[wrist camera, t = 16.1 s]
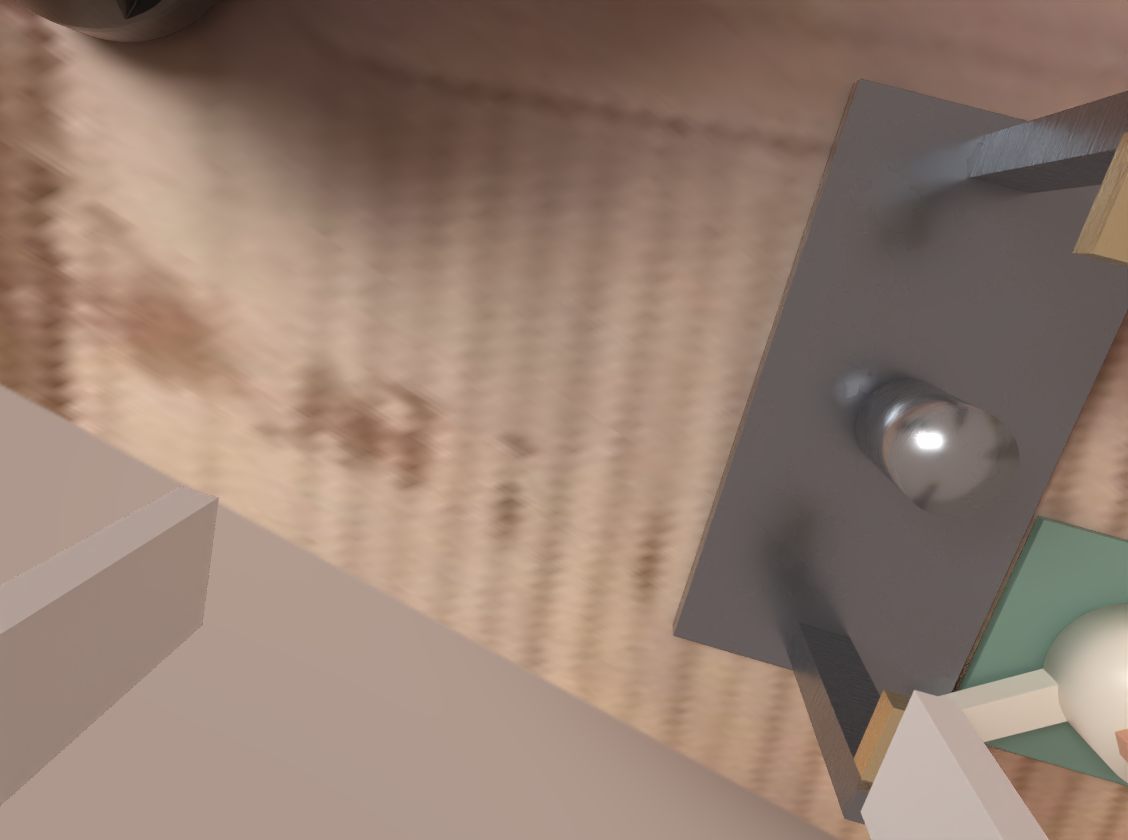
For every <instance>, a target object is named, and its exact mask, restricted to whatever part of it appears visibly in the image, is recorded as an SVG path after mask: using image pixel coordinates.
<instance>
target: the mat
mask: <svg viewBox="0 0 1128 840" xmlns="http://www.w3.org/2000/svg"><path fill="white" fill-rule="evenodd" d="M1120 603H1128V540H1124V539H1120V538H1117V537H1113V536H1110V535H1106V534H1102V533H1099V532H1095V531H1092V530H1088V529H1084V528H1081V527H1077V526H1073V525H1070V524H1066V523H1063V522H1059V521H1055V520H1052V519H1048V518H1045V517H1041V516H1038V517H1037V519H1036V522H1035V524H1034V526H1033V528H1032V530H1031V532H1030V535H1029V537H1028V539H1027V541H1026V543H1025V545H1024V547H1023V550H1022V552H1021V554H1020V556H1019V558H1018V560H1017V563H1016V565H1015V567H1014V569H1013V571H1012V573H1011V576H1010V578H1009V580H1008V582H1007V584H1006V586H1005V589H1004V591H1003V593H1002V595H1001V597H1000V599H999V601H998V604H997V606H996V608H995V610H994V612H993V614H992V617H991V619H990V621H989V623H988V625H987V627H986V630H985V632H984V634H983V636H982V638H981V640H980V643H979V645H978V647H977V649H976V651H975V653H974V656H973V658H972V660H971V662H970V664H969V666H968V668H967V671H966V673H965V675H964V677H963V679H962V681H961V684H960V686H959V688H958V690H957V691H960V690H964V689H967V688H971V687H975V686H979V685H983V684H986V683H990V682H994V681H998V680H1001V679H1005V678H1009V677H1013V676H1017V675H1020V674H1024V673H1028V672H1032V671H1035V670H1039V669H1043V665H1044V660H1045V657H1046V654H1047V652H1048V650H1049V648H1050V646H1051V644H1052V643H1053V641H1054V640H1055V638H1056V637H1057V636H1058V635H1059V633H1060V632H1061V631H1062V630H1063V629H1064V628H1065V627H1066V626H1068V625H1069V624H1070V623H1071V622H1073V621H1074V620H1075V619H1077V618H1079V617H1080V616H1082V615H1084V614H1086V613H1088V612H1090V611H1092V610H1095V609H1098V608H1101V607H1104V606H1108V605H1113V604H1120ZM984 743H985V745H988V746H992V747H995V748H998V749H1002V750H1005V751H1009V752H1012V753H1016V754H1019V755H1023V756H1026V757H1029V758H1033V759H1036V760H1040V761H1043V762H1047V763H1050V764H1054V765H1057V766H1060V767H1064V768H1067V769H1071V770H1074V771H1078V772H1081V773H1084V774H1088V775H1091V776H1095V777H1098V778H1102V779H1105V780H1109V781H1112V782H1115V783H1119V784H1122V785H1126V786H1128V783H1127V782H1125V781H1124V780H1123V779H1121V778H1120V777H1119V776H1118V775H1117V774H1116V773H1115V772H1114V771H1113V770H1112V769H1111V768H1110V767H1109V766H1108V765H1107V764H1106V763H1105V762H1104V761H1103V760H1102V759H1101V757H1100V756H1099V755H1098V754H1097V753H1096V752H1095V751H1094V750H1093V749H1092V748H1091V747H1090V746H1089V744H1088V743H1087V742H1086V741H1085V740H1084V739H1083V738H1082V737H1081V736H1080V735H1079V734H1078V733H1077V731H1076V730H1075V729H1074V728H1073V727H1072V726H1071V725H1070V724H1069V723H1068V722H1067V721H1066V722H1062V723H1058V724H1054V725H1050V726H1046V727H1042V728H1038V729H1034V730H1030V731H1026V732H1022V733H1018V734H1015V735H1011V736H1007V737H1003V738H999V739H995V740H991V741H987V742H984Z"/></svg>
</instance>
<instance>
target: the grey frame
mask: <svg viewBox="0 0 1128 840" xmlns="http://www.w3.org/2000/svg"><path fill="white" fill-rule="evenodd" d="M1127 310H1128V91H1126V92H1122V93H1119V94H1116V95H1113V96H1109V97H1106V98H1103V99H1100V100H1097V101H1093V102H1090V103H1087V104H1084V105H1080V106H1077V107H1074V108H1071V109H1068V110H1064V111H1061V112H1058V113H1055V114H1051V115H1048V116H1045V117H1042V118H1039V119H1035V120H1032V121H1025V120H1021V119H1017V118H1013V117H1009V116H1005V115H1001V114H997V113H993V112H990V111H986V110H982V109H978V108H974V107H970V106H966V105H962V104H958V103H954V102H950V101H946V100H942V99H939V98H935V97H931V96H927V95H923V94H919V93H915V92H911V91H907V90H903V89H899V88H895V87H891V86H887V85H884V84H880V83H876V82H872V81H868V80H864V79H859V80H858V81H857V82H855V83H854V84H853V87H852V90H851V93H850V96H849V99H848V102H847V105H846V108H845V111H844V114H843V117H842V120H841V123H840V126H839V129H838V132H837V135H836V138H835V141H834V144H833V147H832V150H831V153H830V156H829V159H828V162H827V165H826V168H825V171H824V174H823V177H822V180H821V183H820V186H819V189H818V192H817V195H816V198H815V201H814V204H813V207H812V210H811V213H810V216H809V219H808V222H807V225H806V228H805V231H804V234H803V237H802V240H801V243H800V246H799V249H798V252H797V255H796V258H795V261H794V264H793V267H792V270H791V273H790V276H789V279H788V282H787V285H786V288H785V291H784V294H783V297H782V300H781V303H780V306H779V309H778V312H777V315H776V318H775V321H774V324H773V327H772V329H771V332H770V335H769V338H768V341H767V344H766V347H765V350H764V353H763V356H762V359H761V362H760V365H759V368H758V371H757V374H756V377H755V380H754V383H753V386H752V389H751V392H750V395H749V398H748V401H747V404H746V407H745V410H744V413H743V416H742V419H741V422H740V425H739V428H738V431H737V434H736V437H735V440H734V443H733V446H732V449H731V452H730V455H729V458H728V461H727V464H726V467H725V470H724V473H723V476H722V479H721V482H720V485H719V488H718V491H717V494H716V497H715V500H714V503H713V506H712V509H711V512H710V515H709V518H708V521H707V524H706V527H705V530H704V533H703V536H702V539H701V542H700V545H699V548H698V551H697V554H696V557H695V560H694V563H693V566H692V569H691V572H690V575H689V578H688V581H687V584H686V587H685V590H684V593H683V596H682V599H681V602H680V605H679V608H678V611H677V614H676V617H675V620H674V623H673V636H676V637H680V638H683V639H687V640H690V641H694V642H697V643H701V644H704V645H708V646H711V647H714V648H718V649H721V650H725V651H728V652H732V653H735V654H739V655H742V656H746V657H749V658H752V659H756V660H759V661H763V662H766V663H770V664H773V665H777V666H780V667H784V668H787V669H790V670H793V671H794V674H795V677H796V680H797V682H798V685H799V688H800V691H801V694H802V697H803V700H804V703H805V706H806V708H807V711H808V714H809V717H810V720H811V723H812V726H813V729H814V732H815V735H816V737H817V740H818V743H819V746H820V749H821V752H822V755H823V758H824V761H825V763H826V766H827V769H828V772H829V775H830V778H831V781H832V784H833V787H834V790H835V792H836V795H837V798H838V801H839V804H840V807H841V810H842V813H843V816H844V818H845V819H848V820H851V821H855V822H858V823H861V824H865V822H864V820H863V817H862V814H861V810H862V807H863V805H864V803H865V800H866V798H867V796H868V794H869V791H870V789H871V787H872V785H873V782H874V780H875V778H876V775H877V773H878V771H879V769H880V766H881V764H882V762H883V760H884V757H885V755H886V753H887V750H888V748H889V746H890V744H891V741H892V739H893V737H894V735H895V732H896V730H897V728H898V725H899V723H900V721H901V719H902V716H903V714H904V712H905V710H906V707H907V705H908V703H909V700H910V698H911V696H912V694H913V691H914V690H917V691H920V692H924V693H927V694H931V695H935V696H941V695H945V694H949V693H951V692H952V690H953V688H954V686H955V683H956V681H957V679H958V677H959V675H960V673H961V670H962V668H963V666H964V664H965V662H966V660H967V657H968V655H969V653H970V651H971V649H972V647H973V644H974V642H975V640H976V638H977V636H978V634H979V631H980V629H981V627H982V625H983V623H984V620H985V618H986V616H987V614H988V612H989V610H990V607H991V605H992V603H993V601H994V599H995V597H996V594H997V592H998V590H999V588H1000V586H1001V584H1002V581H1003V579H1004V577H1005V575H1006V573H1007V571H1008V568H1009V566H1010V564H1011V562H1012V560H1013V558H1014V555H1015V553H1016V551H1017V549H1018V547H1019V545H1020V542H1021V540H1022V538H1023V536H1024V534H1025V532H1026V529H1027V527H1028V525H1029V523H1030V521H1031V518H1032V516H1033V514H1034V512H1035V510H1036V508H1037V505H1038V503H1039V501H1040V499H1041V497H1042V495H1043V492H1044V490H1045V488H1046V486H1047V484H1048V482H1049V479H1050V477H1051V475H1052V473H1053V471H1054V469H1055V466H1056V464H1057V462H1058V460H1059V458H1060V456H1061V453H1062V451H1063V449H1064V447H1065V445H1066V443H1067V440H1068V438H1069V436H1070V434H1071V432H1072V429H1073V427H1074V425H1075V423H1076V421H1077V419H1078V416H1079V414H1080V412H1081V410H1082V408H1083V406H1084V403H1085V401H1086V399H1087V397H1088V395H1089V393H1090V390H1091V388H1092V386H1093V384H1094V382H1095V380H1096V377H1097V375H1098V373H1099V371H1100V369H1101V367H1102V364H1103V362H1104V360H1105V358H1106V356H1107V354H1108V351H1109V349H1110V347H1111V345H1112V343H1113V340H1114V338H1115V336H1116V334H1117V332H1118V330H1119V327H1120V325H1121V323H1122V321H1123V319H1124V317H1125V314H1126V312H1127ZM880 696H881V697H880Z"/></svg>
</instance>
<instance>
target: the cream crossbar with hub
mask: <svg viewBox="0 0 1128 840" xmlns="http://www.w3.org/2000/svg"><path fill="white" fill-rule="evenodd" d="M938 697H942V698H945V699H949V700H953V701H956V702H957V703H958V705H959V706H960V708H961V709H962V711H963V712H964V714H965V715H966V717H967V718H968V720H969V721H970V723H971V724H972V726H973V727H974V729H975V730H976V732H977V733H978V735H979V736H980V738H981V739H982V741H983V742H987V741H991V740H995V739H999V738H1003V737H1007V736H1011V735H1015V734H1018V733H1022V732H1026V731H1030V730H1034V729H1038V728H1042V727H1046V726H1050V725H1054V724H1058V723H1062V722H1066V721H1067V722H1068V723H1069V724H1070V725H1071V726H1072V727H1073V728H1074V729H1075V730H1076V731H1077V733H1078V734H1079V735H1080V736H1081V737H1082V738H1083V739H1084V740H1085V741H1086V742H1087V743H1088V744H1089V746H1090V747H1091V748H1092V749H1093V750H1094V751H1095V752H1096V753H1097V754H1098V755H1099V756H1100V757H1101V759H1102V760H1103V761H1104V762H1105V763H1106V764H1107V765H1108V766H1109V767H1110V768H1111V769H1112V770H1113V771H1114V772H1115V773H1116V774H1117V775H1118V776H1119V777H1120V778H1121V779H1123V780H1124V781H1125V782H1127V783H1128V603H1120V604H1113V605H1108V606H1104V607H1101V608H1098V609H1095V610H1092V611H1090V612H1088V613H1086V614H1084V615H1082V616H1080V617H1079V618H1077V619H1075V620H1074V621H1073V622H1071V623H1070V624H1069V625H1068V626H1066V627H1065V628H1064V629H1063V630H1062V631H1061V632H1060V633H1059V635H1058V636H1057V637H1056V638H1055V640H1054V641H1053V643H1052V644H1051V646H1050V648H1049V650H1048V652H1047V654H1046V657H1045V660H1044V665H1043V669H1039V670H1035V671H1032V672H1028V673H1024V674H1020V675H1017V676H1013V677H1009V678H1005V679H1001V680H998V681H994V682H990V683H986V684H983V685H979V686H975V687H971V688H967V689H964V690H960V691H956V692H952V693H949V694H945V695H941V696H938Z"/></svg>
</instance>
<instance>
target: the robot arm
mask: <svg viewBox="0 0 1128 840" xmlns="http://www.w3.org/2000/svg"><path fill="white" fill-rule="evenodd" d="M16 1H17V2H19V3H20V4H22V5H23V6H25V7H26V8H28V9H30V10H31V11H33V12H35V13H36V14H38V15H40V16H42V17H44V18H46V19H48V20H50V21H52V22H55V23H57V24H60V25H63V26H65V27H68V28H71V29H73V30H76V31H79V32H81V33H84V34H87V35H90V36H93V37H96V38H100V39H105V40H110V41H118V42H140V41H148V40H153V39H157V38H161V37H164V36H167V35H170V34H172V33H174V32H177V31H179V30H181V29H183V28H184V27H186V26H188V25H190V24H191V23H193V22H194V21H196V20H197V19H198V18H200V17H201V16H202V15H203V14H205V13H206V12H207V11H208V10H209V9H210V8H211V7H212V6H213V5H214V4H215V3H216V2H217V1H218V0H16ZM218 498H219V497H216V496H212V495H208V494H205V493H201V492H197V491H194V490H190V489H187V488H183V487H178V488H176V489H174V490H172V491H171V492H169V493H167V494H165V495H163V496H161V497H160V498H158V499H156V500H154V501H152V502H150V503H149V504H147V505H145V506H143V507H141V508H140V509H138V510H136V511H134V512H132V513H131V514H129V515H127V516H125V517H124V518H121V519H120V520H118V521H116V522H114V523H112V524H111V525H109V526H107V527H105V528H103V529H101V530H100V531H98V532H96V533H94V534H92V535H91V536H89V537H87V538H85V539H84V540H82V541H80V542H78V543H76V544H74V545H72V546H71V547H69V548H67V549H65V550H63V551H62V552H60V553H58V554H56V555H54V556H53V557H51V558H49V559H47V560H46V561H43V562H42V563H40V564H38V565H36V566H34V567H32V568H31V569H29V570H27V571H25V572H23V573H22V574H20V575H18V576H16V577H14V578H12V579H11V580H9V581H7V582H5V583H3V584H2V585H0V806H1V805H2V804H3V803H4V802H5V801H6V800H8V799H9V798H10V797H11V796H12V795H13V794H14V793H15V792H16V791H18V790H19V789H20V788H21V787H22V786H23V785H24V784H25V783H27V782H28V781H29V780H30V779H31V778H32V777H33V776H34V775H35V774H37V773H38V772H39V771H40V770H41V769H42V768H43V767H44V766H46V765H47V764H48V763H49V762H50V761H51V760H52V759H53V758H54V757H56V756H57V755H58V754H59V753H60V752H61V751H62V750H63V749H65V748H66V747H67V746H68V745H69V744H70V743H71V742H72V741H73V740H75V739H76V738H77V737H78V736H79V735H80V734H81V733H82V732H83V731H85V730H86V729H87V728H88V727H89V726H90V725H91V724H92V723H94V721H96V720H97V719H98V718H99V717H100V716H101V715H103V714H104V713H105V712H106V711H107V710H108V709H109V708H110V707H111V706H113V705H114V704H115V703H116V702H117V701H118V700H119V699H120V698H121V697H123V696H124V695H125V694H126V693H127V692H128V691H129V690H130V689H132V688H133V687H134V686H135V685H136V684H137V683H138V682H139V681H141V680H142V679H143V678H144V677H145V676H146V675H147V674H148V673H149V672H151V671H152V670H153V669H154V668H155V667H156V666H157V665H158V664H159V663H161V662H162V661H163V660H164V659H165V658H166V657H167V656H168V655H170V654H171V653H172V652H173V651H174V650H175V649H176V648H177V647H179V646H180V645H181V644H182V643H183V642H184V641H185V640H186V639H187V638H189V637H190V636H191V635H192V634H193V633H194V632H195V631H196V630H197V629H199V628H200V627H201V626H202V624H203V616H204V609H205V601H206V593H207V585H208V577H209V568H210V561H211V554H212V546H213V538H214V530H215V522H216V513H217V506H218ZM861 814H862V817H863V820H864V822H865V825H866V827H867V830H868V833H869V835H870V838H871V840H1049V839H1048V837H1047V836H1046V834H1045V833H1044V831H1043V830H1042V828H1041V827H1040V825H1039V824H1038V823H1037V821H1036V820H1035V818H1034V817H1033V815H1032V814H1031V812H1030V811H1029V809H1028V808H1027V806H1026V805H1025V803H1024V802H1023V800H1022V799H1021V797H1020V796H1019V794H1018V793H1017V791H1016V790H1015V788H1014V787H1013V785H1012V784H1011V782H1010V781H1009V779H1008V778H1007V776H1006V775H1005V773H1004V772H1003V770H1002V769H1001V767H1000V766H999V764H998V763H997V761H996V760H995V758H994V757H993V755H992V754H991V752H990V751H989V749H988V748H987V746H986V745H985V743H984V742H983V741H982V739H981V738H980V736H979V735H978V733H977V732H976V730H975V729H974V727H973V726H972V724H971V723H970V721H969V720H968V718H967V717H966V715H965V714H964V712H963V711H962V709H961V708H960V706H959V705H958V703H957V702H956V701H953V700H949V699H945V698H942V697H938V696H935V695H931V694H927V693H924V692H920V691H917V690H914V691H913V694H912V696H911V698H910V700H909V703H908V705H907V707H906V710H905V712H904V714H903V716H902V719H901V721H900V723H899V725H898V728H897V730H896V732H895V735H894V737H893V739H892V741H891V744H890V746H889V748H888V750H887V753H886V755H885V757H884V760H883V762H882V764H881V766H880V769H879V771H878V773H877V775H876V778H875V780H874V782H873V785H872V787H871V789H870V791H869V794H868V796H867V798H866V800H865V803H864V805H863V807H862V810H861Z"/></svg>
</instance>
